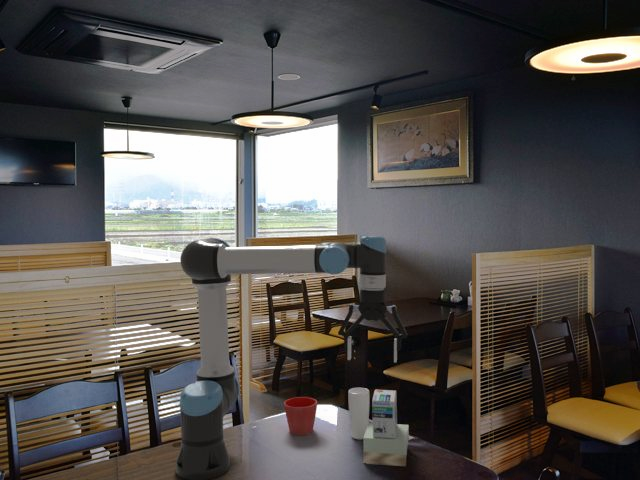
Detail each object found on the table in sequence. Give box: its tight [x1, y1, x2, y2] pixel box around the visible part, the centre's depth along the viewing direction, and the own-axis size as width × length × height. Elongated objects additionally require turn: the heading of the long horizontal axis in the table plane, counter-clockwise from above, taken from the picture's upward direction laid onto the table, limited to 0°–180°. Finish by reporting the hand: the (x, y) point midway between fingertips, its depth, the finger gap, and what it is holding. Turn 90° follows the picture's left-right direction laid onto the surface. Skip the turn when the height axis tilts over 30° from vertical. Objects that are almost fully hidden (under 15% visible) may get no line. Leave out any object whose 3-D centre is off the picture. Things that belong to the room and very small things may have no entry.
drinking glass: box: [347, 387, 370, 440], centre depth 175 cm, size 7×7×15 cm
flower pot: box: [283, 396, 318, 436], centre depth 181 cm, size 11×11×10 cm
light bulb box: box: [371, 389, 398, 438], centre depth 161 cm, size 11×7×11 cm, turn 170°
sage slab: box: [362, 421, 410, 455], centre depth 161 cm, size 12×12×4 cm
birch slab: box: [362, 450, 408, 467], centre depth 162 cm, size 12×12×4 cm
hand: (372, 360), depth 162 cm, fingers open, 13 cm apart
